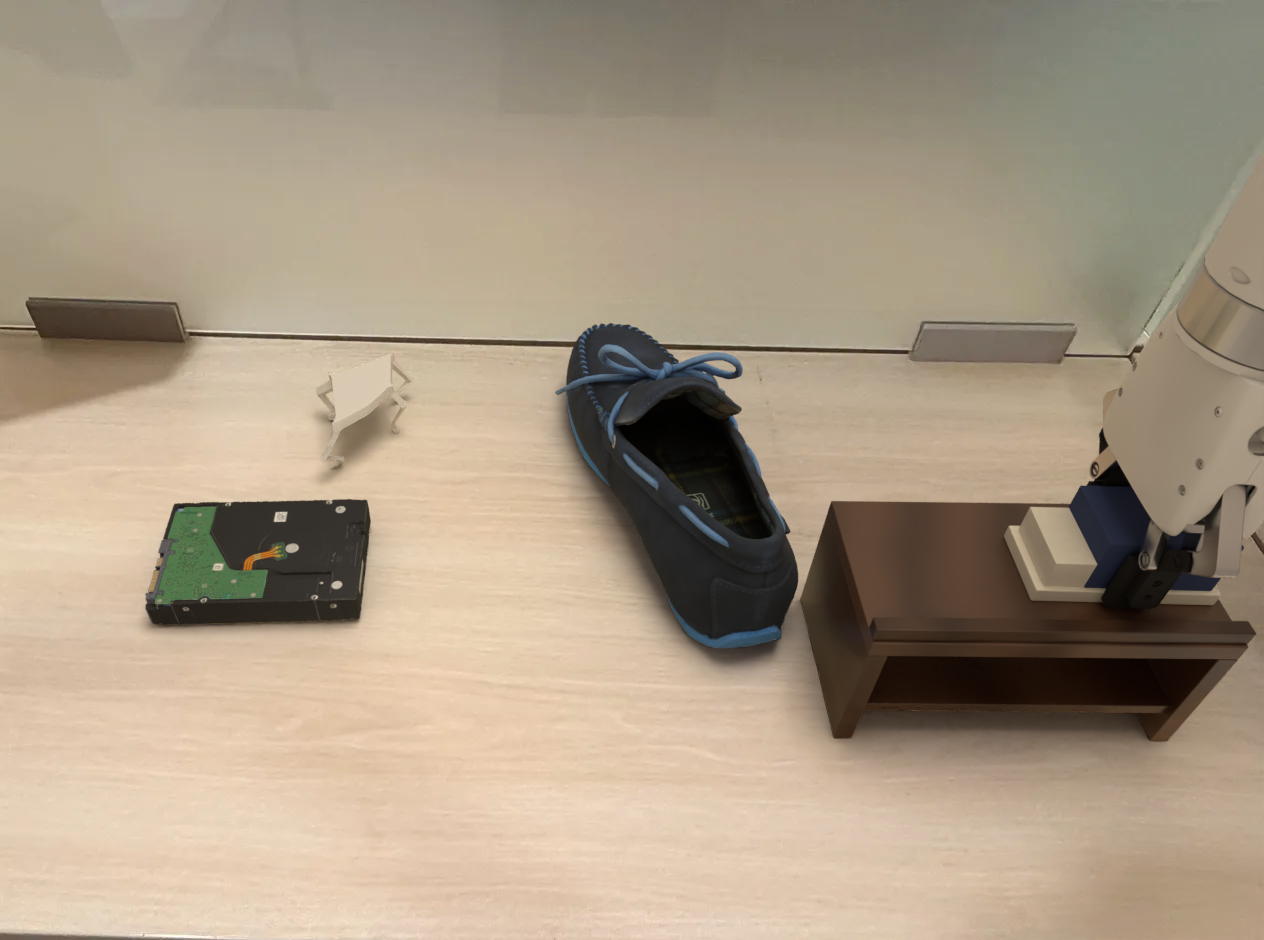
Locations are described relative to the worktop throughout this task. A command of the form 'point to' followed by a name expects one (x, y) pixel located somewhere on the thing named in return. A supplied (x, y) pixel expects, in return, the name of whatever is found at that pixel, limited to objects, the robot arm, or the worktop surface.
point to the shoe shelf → (990, 626)
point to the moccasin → (684, 482)
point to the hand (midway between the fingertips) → (1108, 564)
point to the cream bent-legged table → (360, 395)
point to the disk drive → (261, 562)
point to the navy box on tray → (1092, 548)
